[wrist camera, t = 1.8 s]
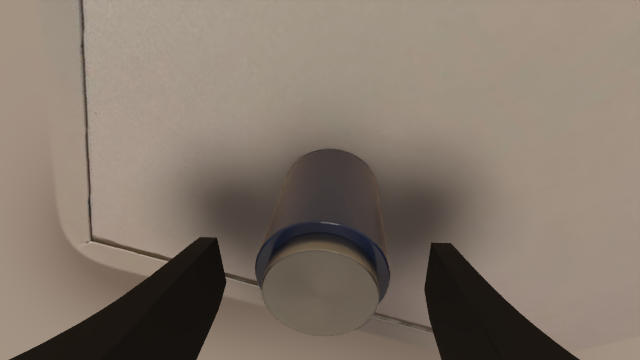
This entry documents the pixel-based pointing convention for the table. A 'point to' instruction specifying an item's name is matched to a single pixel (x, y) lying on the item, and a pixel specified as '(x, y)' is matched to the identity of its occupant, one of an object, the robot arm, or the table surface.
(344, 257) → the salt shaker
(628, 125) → the table surface
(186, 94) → the table surface
